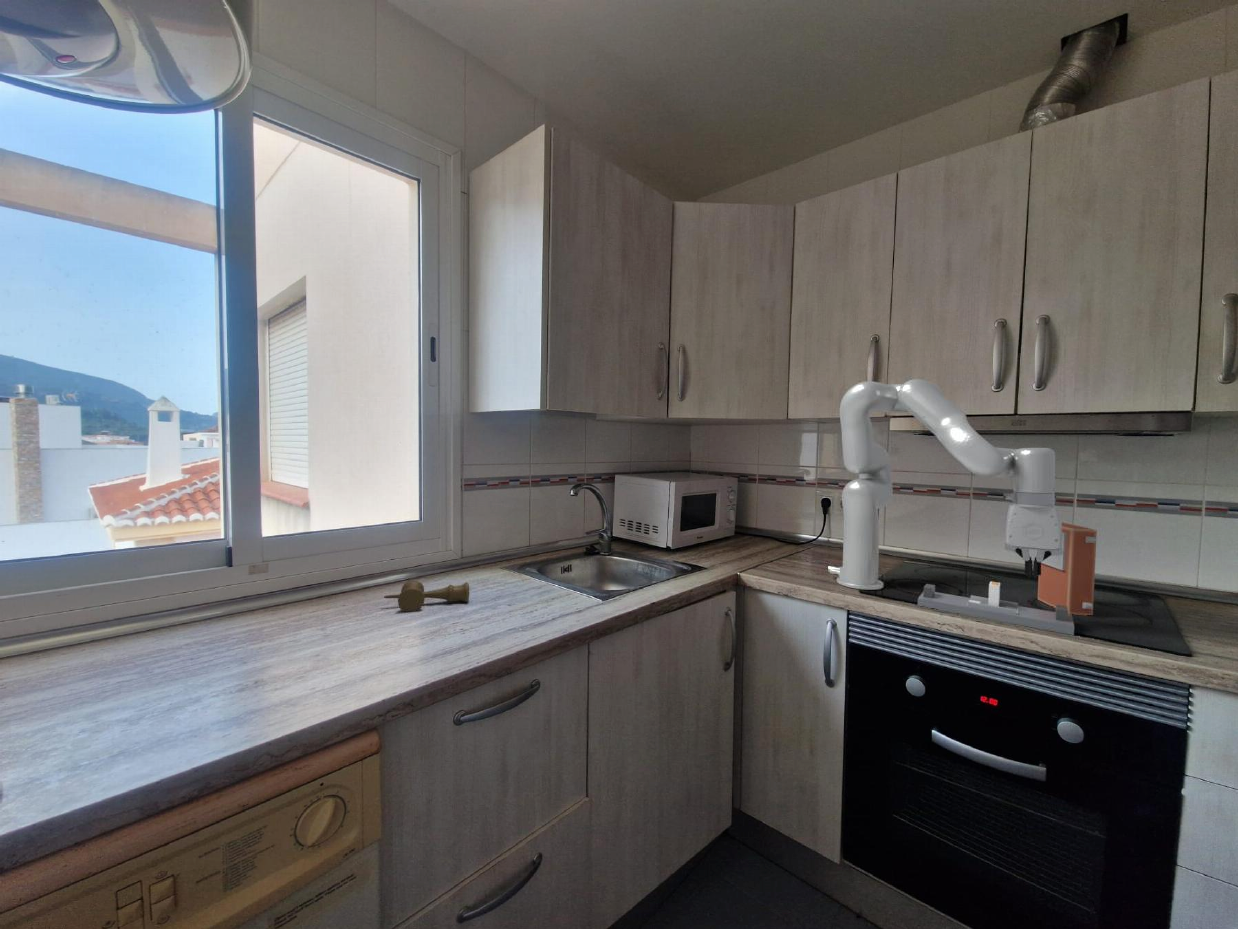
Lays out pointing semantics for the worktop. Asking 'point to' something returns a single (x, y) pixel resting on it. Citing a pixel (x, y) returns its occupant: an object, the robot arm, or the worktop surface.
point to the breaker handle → (994, 594)
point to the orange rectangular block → (1071, 572)
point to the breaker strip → (999, 611)
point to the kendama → (427, 595)
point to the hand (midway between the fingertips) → (1032, 577)
